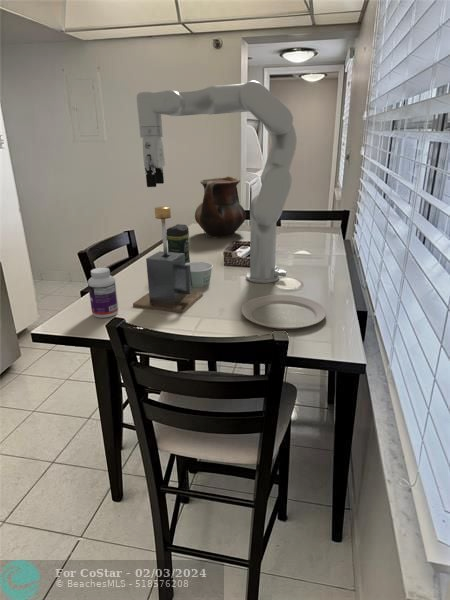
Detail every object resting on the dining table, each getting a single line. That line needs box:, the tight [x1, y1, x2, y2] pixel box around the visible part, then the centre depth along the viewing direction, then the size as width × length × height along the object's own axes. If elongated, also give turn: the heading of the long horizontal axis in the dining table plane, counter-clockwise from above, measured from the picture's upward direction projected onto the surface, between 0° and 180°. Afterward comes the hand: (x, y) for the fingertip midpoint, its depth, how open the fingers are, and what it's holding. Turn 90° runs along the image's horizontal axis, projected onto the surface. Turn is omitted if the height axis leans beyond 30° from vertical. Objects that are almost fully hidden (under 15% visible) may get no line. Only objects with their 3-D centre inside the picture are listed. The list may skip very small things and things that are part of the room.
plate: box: [240, 294, 327, 330], centre depth 130 cm, size 26×26×2 cm
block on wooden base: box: [132, 250, 204, 314], centre depth 140 cm, size 18×16×16 cm
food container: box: [185, 261, 214, 288], centre depth 158 cm, size 12×12×6 cm
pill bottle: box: [87, 267, 119, 319], centre depth 130 cm, size 8×8×14 cm
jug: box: [194, 175, 247, 239], centre depth 227 cm, size 32×28×30 cm
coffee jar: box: [166, 223, 191, 264], centre depth 171 cm, size 10×8×19 cm
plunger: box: [154, 206, 172, 257], centre depth 135 cm, size 6×6×20 cm
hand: (155, 185), depth 149 cm, fingers open, 9 cm apart
